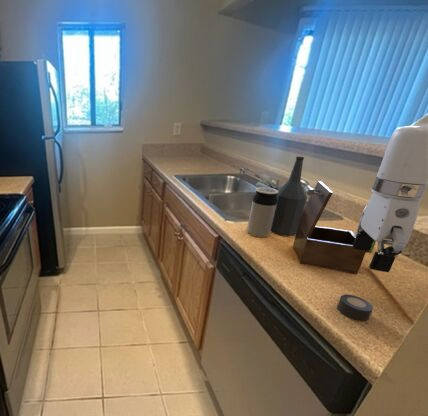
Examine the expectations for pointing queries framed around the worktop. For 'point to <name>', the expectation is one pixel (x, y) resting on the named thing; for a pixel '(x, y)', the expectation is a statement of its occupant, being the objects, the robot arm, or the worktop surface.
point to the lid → (314, 207)
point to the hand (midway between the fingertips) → (369, 259)
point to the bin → (328, 249)
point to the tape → (355, 307)
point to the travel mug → (262, 212)
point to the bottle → (290, 203)
